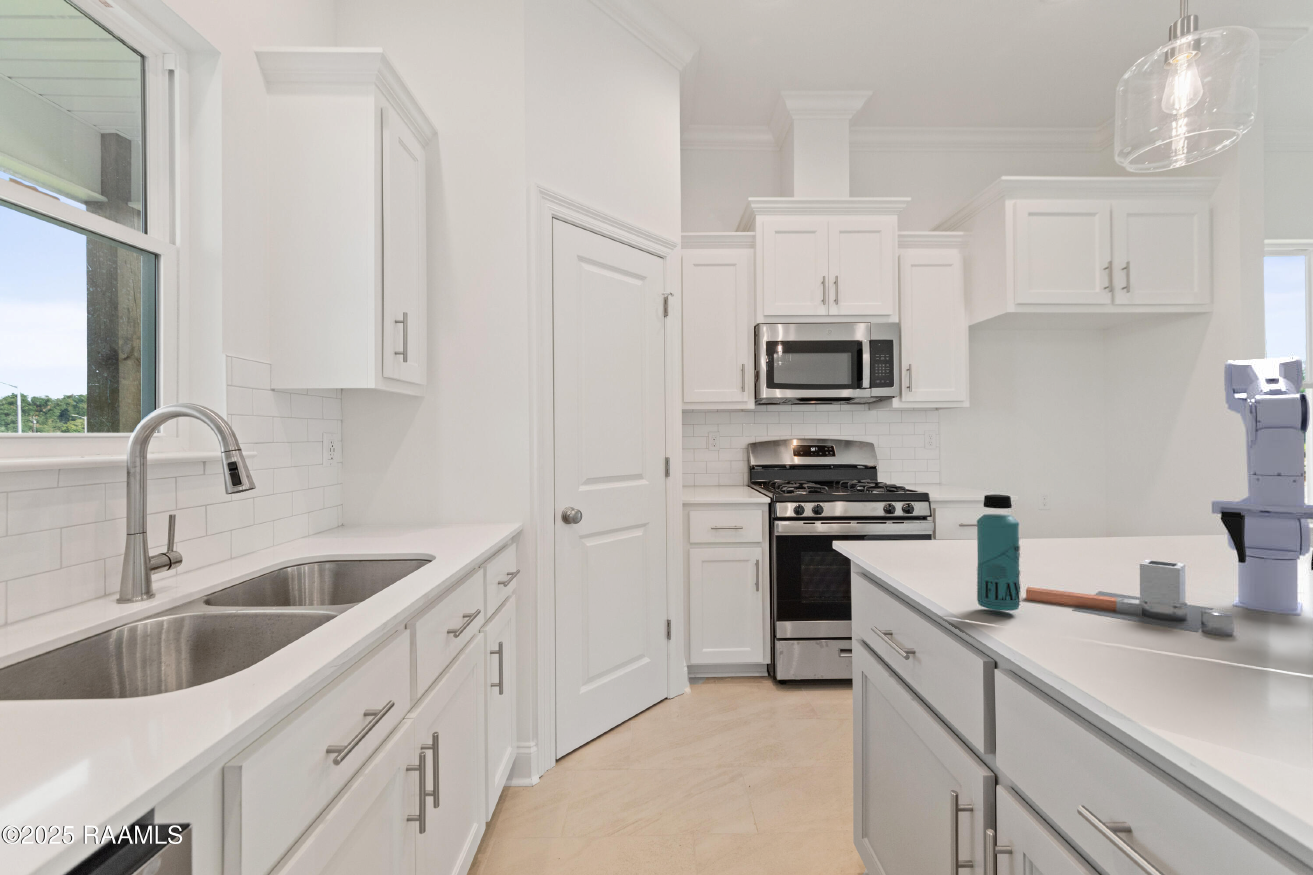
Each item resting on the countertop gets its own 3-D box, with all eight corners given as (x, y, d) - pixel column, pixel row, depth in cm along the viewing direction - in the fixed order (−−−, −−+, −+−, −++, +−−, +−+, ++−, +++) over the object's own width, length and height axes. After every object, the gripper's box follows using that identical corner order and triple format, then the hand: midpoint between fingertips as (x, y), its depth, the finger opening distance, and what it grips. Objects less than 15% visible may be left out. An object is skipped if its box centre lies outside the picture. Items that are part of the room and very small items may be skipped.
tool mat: (1099, 592, 116) (1099, 590, 116) (1213, 609, 104) (1213, 608, 104) (1071, 612, 104) (1071, 610, 104) (1197, 634, 92) (1197, 632, 92)
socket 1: (1146, 594, 104) (1146, 559, 104) (1185, 600, 100) (1185, 563, 100) (1139, 600, 100) (1139, 563, 100) (1180, 606, 97) (1179, 568, 97)
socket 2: (1203, 629, 95) (1202, 608, 94) (1235, 634, 92) (1235, 613, 92) (1199, 634, 92) (1199, 613, 92) (1232, 640, 89) (1232, 618, 89)
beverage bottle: (978, 617, 101) (977, 495, 101) (974, 607, 107) (973, 492, 107) (1024, 622, 99) (1023, 497, 99) (1017, 610, 105) (1016, 493, 105)
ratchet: (1185, 614, 101) (1185, 587, 101) (1188, 623, 96) (1188, 594, 96) (1029, 594, 114) (1029, 570, 114) (1024, 601, 109) (1024, 576, 109)
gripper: (1208, 474, 95) (1209, 562, 96) (1349, 478, 85) (1350, 577, 85) (1214, 472, 100) (1215, 555, 100) (1349, 475, 89) (1349, 569, 90)
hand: (1277, 565), depth 93 cm, fingers open, 7 cm apart
